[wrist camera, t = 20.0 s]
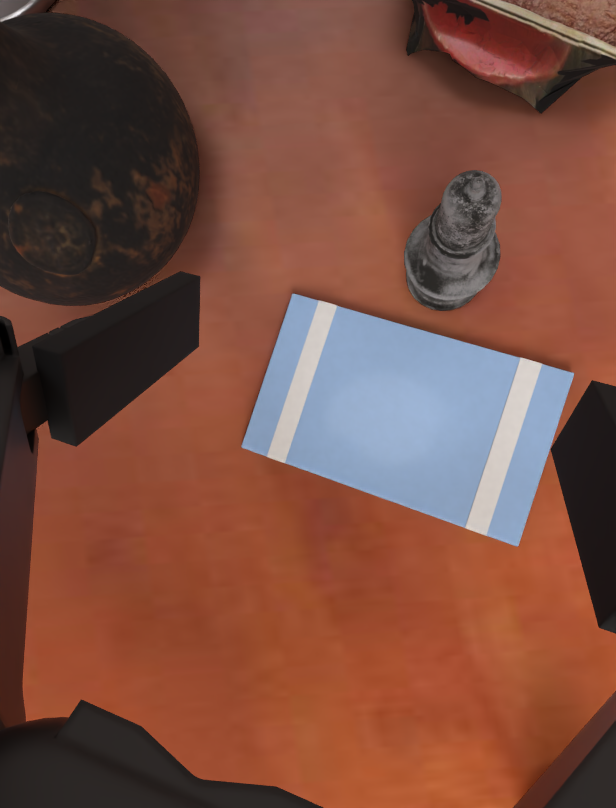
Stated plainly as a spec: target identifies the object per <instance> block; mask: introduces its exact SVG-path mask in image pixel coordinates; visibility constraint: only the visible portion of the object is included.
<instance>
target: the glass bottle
mask: <svg viewBox="0 0 616 808" xmlns="http://www.w3.org/2000/svg"><path fill="white" fill-rule="evenodd" d="M198 190H199V156H198V148H197V143H196V138H195V134H194V130H193V126H192V124H191V121H190V117H189V115H188V112H187V110H186V108H185V105H184V103H183V101H182V99H181V97H180V95H179V93H178V92H177V90H176V88H175V87H174V85H173V84H172V82H171V81H170V79H169V78H168V76H167V75H166V73H165V72H164V71H163V70H162V69H161V67H160V66H159V65H158V64H157V63H156V62H155V61H154V60H153V59H152V58H151V57H150V56H149V55H148V54H147V53H146V52H145V51H144V50H143V49H141V48H140V47H139V46H138V45H137V44H135V43H134V42H133V41H131V40H130V39H128V38H127V37H125V36H124V35H122V34H121V33H119V32H118V31H116V30H114V29H112V28H110V27H108V26H106V25H103V24H101V23H98V22H96V21H93V20H90V19H87V18H83V17H79V16H75V15H69V14H61V13H35V14H32V13H31V14H26V15H21V16H18V17H15V18H11V19H8V20H4V21H2V22H1V21H0V286H1V287H3V288H5V289H7V290H9V291H11V292H13V293H15V294H18V295H20V296H23V297H26V298H29V299H32V300H36V301H40V302H44V303H48V304H56V305H65V306H82V305H91V304H96V303H101V302H105V301H109V300H112V299H115V298H117V297H120V296H122V295H125V294H127V293H129V292H131V291H133V290H134V289H136V288H138V287H139V286H141V285H143V284H144V283H146V282H147V281H148V280H150V279H151V278H152V277H153V276H154V275H155V274H157V273H158V272H159V271H160V270H161V269H162V268H163V267H164V266H165V265H166V264H167V263H168V261H169V260H170V259H171V258H172V256H173V255H174V253H175V252H176V251H177V249H178V248H179V246H180V244H181V242H182V241H183V239H184V237H185V235H186V233H187V231H188V229H189V226H190V224H191V221H192V218H193V215H194V211H195V207H196V204H197V198H198Z"/></svg>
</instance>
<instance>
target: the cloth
mask: <svg viewBox="0 0 616 808" xmlns="http://www.w3.org/2000/svg"><path fill="white" fill-rule="evenodd" d="M573 376H574V373H572V372H568V371H565V370H561V369H558V368H554V367H551V366H547V365H544V364H542V363H539V362H535V361H532V360H528V359H525V358H519V357H516V356H512V355H509V354H505V353H501V352H498V351H494V350H491V349H487V348H484V347H480V346H477V345H473V344H470V343H466V342H463V341H459V340H456V339H452V338H449V337H445V336H442V335H438V334H435V333H431V332H428V331H424V330H421V329H417V328H413V327H410V326H406V325H403V324H399V323H396V322H392V321H389V320H385V319H382V318H378V317H375V316H371V315H368V314H364V313H361V312H357V311H354V310H350V309H347V308H343V307H340V306H337V305H334V304H331V303H327V302H324V301H320V300H319V301H318V300H315V299H311V298H308V297H304V296H301V295H297V294H294V293H293V294H292V297H291V300H290V303H289V306H288V309H287V312H286V315H285V318H284V321H283V324H282V327H281V330H280V333H279V336H278V339H277V341H276V344H275V347H274V350H273V353H272V356H271V359H270V362H269V365H268V368H267V371H266V374H265V377H264V380H263V383H262V386H261V389H260V392H259V395H258V398H257V401H256V404H255V407H254V410H253V413H252V416H251V419H250V422H249V425H248V428H247V431H246V434H245V437H244V440H243V443H242V446H241V447H242V448H244V449H247V450H250V451H253V452H256V453H258V454H261V455H264V456H267V457H269V458H271V459H274V460H277V461H280V462H283V463H286V464H289V465H292V466H294V467H297V468H300V469H303V470H306V471H308V472H311V473H314V474H317V475H319V476H322V477H325V478H328V479H331V480H333V481H336V482H339V483H342V484H345V485H347V486H350V487H353V488H356V489H358V490H361V491H364V492H367V493H370V494H372V495H375V496H378V497H381V498H383V499H386V500H389V501H392V502H395V503H397V504H400V505H403V506H406V507H408V508H411V509H414V510H417V511H420V512H422V513H425V514H428V515H431V516H433V517H436V518H439V519H442V520H445V521H447V522H450V523H453V524H456V525H458V526H461V527H464V528H466V529H469V530H472V531H474V532H477V533H480V534H483V535H485V536H489V537H492V538H495V539H497V540H500V541H503V542H506V543H508V544H511V545H514V546H518V545H519V542H520V539H521V536H522V533H523V530H524V527H525V524H526V521H527V518H528V514H529V511H530V508H531V505H532V502H533V499H534V496H535V493H536V490H537V487H538V484H539V481H540V478H541V474H542V471H543V468H544V465H545V462H546V459H547V456H548V453H549V450H550V447H551V444H552V441H553V438H554V434H555V431H556V428H557V425H558V422H559V419H560V416H561V413H562V410H563V407H564V404H565V401H566V398H567V394H568V391H569V388H570V385H571V382H572V379H573Z"/></svg>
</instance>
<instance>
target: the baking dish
mask: <svg viewBox="0 0 616 808" xmlns="http://www.w3.org/2000/svg"><path fill="white" fill-rule="evenodd" d="M412 2H413V4H414V16H413V21H412V25H411V30H410V35H409V39H408V44H407V49H406V51H407V55H408V56H409V55H410V54H411V53H414V52H418V51H421V50H431V51H440V52H447V53H449V54H450V55H451V57H452V60H453V61H454V62H456V63H458V64H459V65H461V66H462V67H464V68H465V69H466V70H467V71H469V72H470V73H471V74H472V75H473V76H475V77H476V78H479V79H482V80H486V81H488V82H490V83H493V84H495V85H497V86H499V87H501V88H503V89H505V90H507V91H509V92H512V93H514V94H516V95H518V96H520V97H522V98H524V99H525V100H526V101H527V102H528V103H529V104H531V105H532V106H533V107H534V108H535V109H536V110H537V111H539V112H540V113H542V112H543V111H545V110H546V109H547V108H548V107H549V106H550V105H551V104H552V103H554V102H555V101H556V100H557V99H558V98H559V97H560V96H561V95H563V94H564V93H565V92H566V91H567V90H568V89H569V88H570V87H572V86H573V85H574V84H575V83H576V82H577V81H578V80H579V79H580V78H582V77H583V76H585V75H587V74H589V73H591V72H593V71H595V70H597V69H599V68H602V67H607V66H612V65H616V0H412Z"/></svg>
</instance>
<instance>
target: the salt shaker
mask: <svg viewBox="0 0 616 808" xmlns="http://www.w3.org/2000/svg"><path fill="white" fill-rule="evenodd" d="M500 205H501V189H500V186H499V184H498V182H497V181H496V180H495V178H493V177H492V176H491V175H490V174H488V173H485V172H483V171H477V170H472V171H466V172H464V173H461V174H459V175H458V176H456V177H455V178H454V179H453V180H452V181H451V182H450V183H449V184H448V185H447V187H446V189H445V191H444V193H443V197H442V201H441V203H440V204H439V205H438V206H437V208H436V209H435V210H434V212H433V213H432V215H431V216H429V217H427V218H426V219H424V220H423V221H421V222H420V223H419V224H418V225H417V227H416V228H415V229H414V230H413V231H412V233H411V235H410V237H409V238H408V240H407V243H406V247H405V251H404V263H405V268H406V271H407V272H406V277H407V284H408V288H409V291H410V292H411V294H412V295H413V297H414V298H415V299H416V300H417V301H418V302H419V303H421V304H422V305H424V306H426V307H428V308H430V309H434V310H439V311H446V310H453V309H456V308H459V307H461V306H463V305H465V304H466V303H468V302H469V301H470V300H471V299H472V298H473V297H474V296H475V295H476V294H477V292H478V291H480V290H482V289H483V288H484V287H485V286H486V285H487V284H488V283H489V282H490V281H491V279H492V278H493V276H494V274H495V272H496V270H497V269H498V265H499V260H500V244H499V241H498V238H497V235H496V233H495V229H496V221H495V217H496V215H497V213H498V211H499V209H500Z"/></svg>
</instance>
